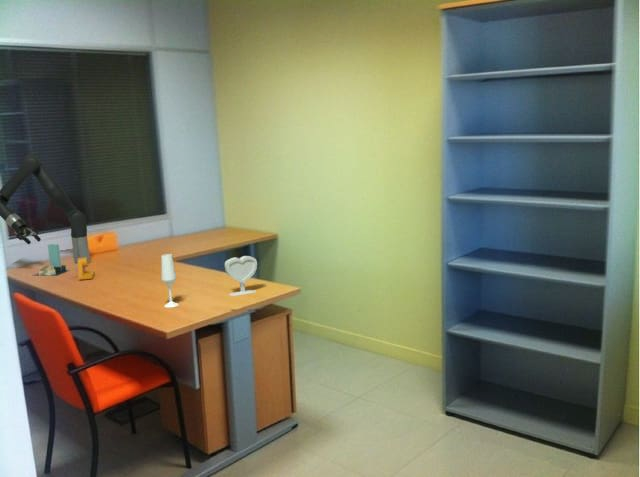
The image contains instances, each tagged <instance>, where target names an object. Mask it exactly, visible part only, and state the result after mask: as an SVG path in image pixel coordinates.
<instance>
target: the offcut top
mask: <svg viewBox="0 0 640 477" xmlns="http://www.w3.org/2000/svg"><path fill="white" fill-rule="evenodd" d="M38 269H39V270H38V271H52V270H54V265H50V264H49V265H48V264H47V265H44V264H42V265H41V266H38Z"/></svg>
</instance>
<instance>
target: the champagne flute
mask: <svg viewBox="0 0 640 477" xmlns="http://www.w3.org/2000/svg"><path fill="white" fill-rule="evenodd" d="M160 257H161V258H160V260H161V278H160V280H161V281H162V283H164V284H165V285H166V286H168V299H169V302H167V303H166V304H165V305H163V307H164V308H174V307H175V308H176V307H178V306H179V304H180V303H177V302H174V301H173V296H172V285H173V284H174V283H175V281H176V279H177V274H176V269H175V264H174V259H173V254H172V253H166V254H162V255H161V256H160Z"/></svg>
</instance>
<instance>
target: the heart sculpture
mask: <svg viewBox="0 0 640 477" xmlns="http://www.w3.org/2000/svg"><path fill="white" fill-rule="evenodd" d="M257 266H258V261H257V259H256V258H255V257H253V256H250V255H243V256H241V257H237V256H236V257H231V258H229V259H227V260H226V261H225V262H224V269H225V273H226V274H227V275H228V276H229V277H230V278H231V279H233V280H235V281H238V282H239V286H240V287H239V288H240V290H239V291H236V292H232V293H229V296H230V297H231V296H232V297H235V296H237V297H238V296H242V295H247V294H248V295H249V294H253V293H257V291H256V290H255V289H247V290H246V288H245V285H246V282H247V281H248V280H249V279H251V278H252V277H253V276H254V274H255V273H256V271H257V269H258V268H257Z"/></svg>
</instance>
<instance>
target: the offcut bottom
mask: <svg viewBox="0 0 640 477" xmlns="http://www.w3.org/2000/svg"><path fill="white" fill-rule="evenodd" d="M38 273H39V275H54V274H56V272H55V270H52V271H40V270H38Z"/></svg>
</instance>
